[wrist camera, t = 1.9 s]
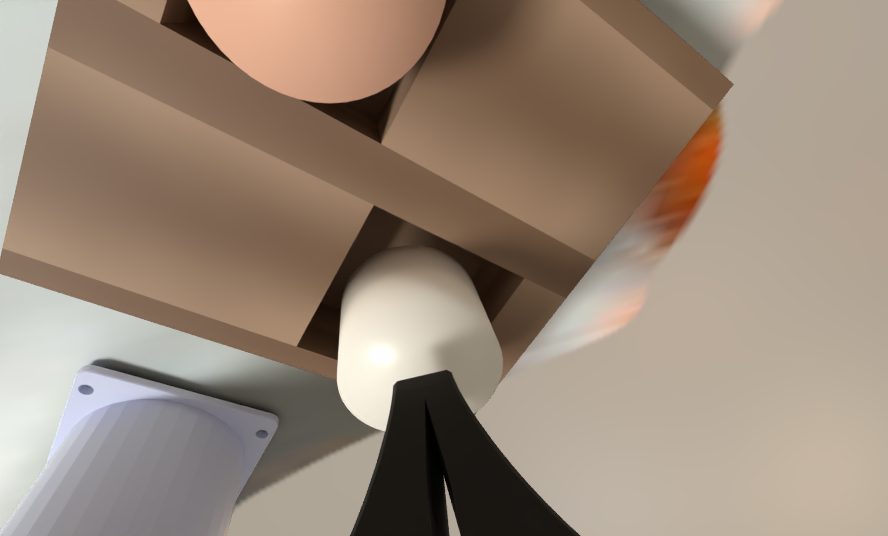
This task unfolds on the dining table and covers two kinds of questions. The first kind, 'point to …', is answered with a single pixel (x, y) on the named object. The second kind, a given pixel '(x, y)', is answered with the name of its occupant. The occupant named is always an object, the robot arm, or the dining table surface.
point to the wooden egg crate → (343, 167)
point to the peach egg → (322, 42)
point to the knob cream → (412, 331)
